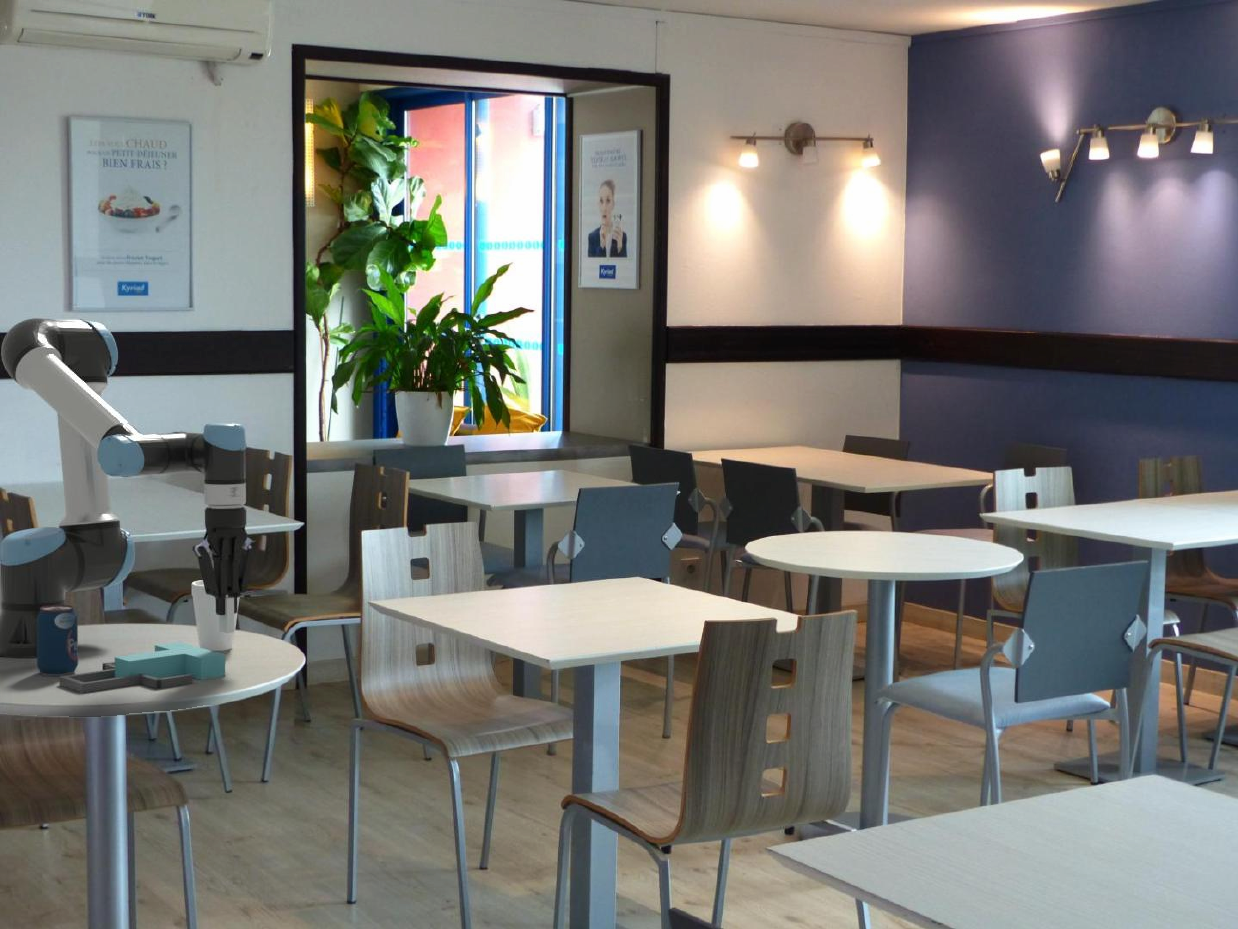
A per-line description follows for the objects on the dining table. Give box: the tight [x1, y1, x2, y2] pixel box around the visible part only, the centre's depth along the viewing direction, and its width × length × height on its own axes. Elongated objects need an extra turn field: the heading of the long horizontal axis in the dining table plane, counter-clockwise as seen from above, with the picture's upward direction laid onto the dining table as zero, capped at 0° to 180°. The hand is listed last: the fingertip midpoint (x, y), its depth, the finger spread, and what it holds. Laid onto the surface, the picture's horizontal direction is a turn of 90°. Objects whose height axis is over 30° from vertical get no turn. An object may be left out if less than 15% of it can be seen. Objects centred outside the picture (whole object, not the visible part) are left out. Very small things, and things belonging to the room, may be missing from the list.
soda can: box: [36, 604, 79, 677], centre depth 279 cm, size 7×7×12 cm
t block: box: [114, 641, 226, 681], centre depth 279 cm, size 16×16×4 cm
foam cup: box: [191, 579, 240, 652], centre depth 305 cm, size 10×9×13 cm
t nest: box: [58, 661, 194, 694], centre depth 273 cm, size 18×19×2 cm
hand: (226, 631), depth 288 cm, fingers closed
